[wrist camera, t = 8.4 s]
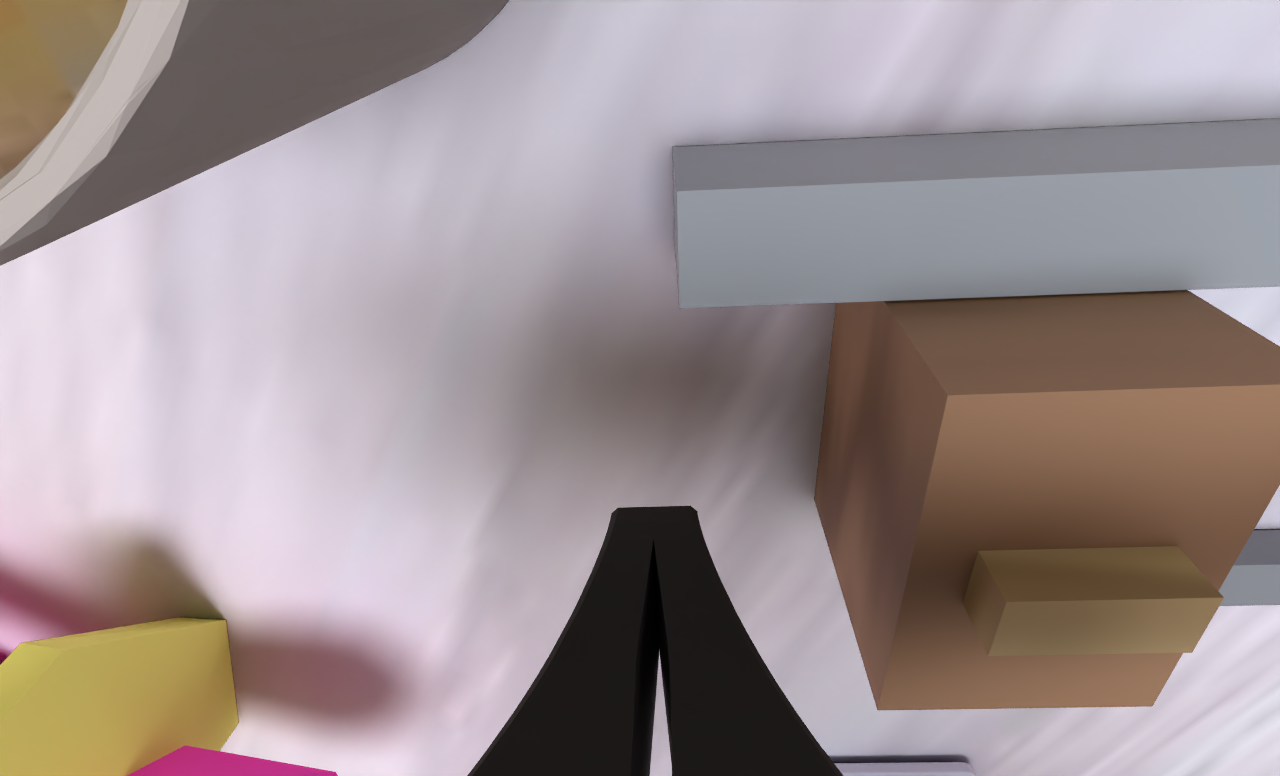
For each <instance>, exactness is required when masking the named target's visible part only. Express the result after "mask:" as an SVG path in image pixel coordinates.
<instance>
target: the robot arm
mask: <svg viewBox="0 0 1280 776" xmlns="http://www.w3.org/2000/svg"><path fill="white" fill-rule="evenodd" d="M659 650H660V659H661V669H662V678H663V687H664V697H665V706H666V715H667V724H668V734H669V743H670V752H671V761H672V776H976V774H975V771H974V768H973V767H972V766H971V765H970V764H968V763H964V762H921V763H833V761H832V760H831V759H830V758H829V756H828V755H827V754H826V753H825V751H824V750H823V749H822V747H821V746H820V745H819V743H818V742H817V741H816V739H815V738H814V737H813V735H812V734H811V732H810V731H809V729H808V728H807V727H806V725H805V724H804V722H803V721H802V720H801V718H800V717H799V715H798V714H797V713H796V711H795V710H794V708H793V707H792V705H791V704H790V702H789V701H788V699H787V698H786V696H785V695H784V693H783V692H782V690H781V689H780V687H779V685H778V684H777V682H776V681H775V679H774V678H773V676H772V674H771V673H770V671H769V670H768V668H767V666H766V665H765V663H764V661H763V660H762V658H761V656H760V655H759V653H758V651H757V649H756V647H755V646H754V644H753V642H752V640H751V639H750V637H749V635H748V633H747V632H746V630H745V628H744V626H743V624H742V622H741V620H740V619H739V617H738V615H737V613H736V611H735V609H734V607H733V605H732V603H731V601H730V598H729V596H728V594H727V592H726V590H725V588H724V586H723V584H722V582H721V580H720V578H719V575H718V573H717V571H716V568H715V566H714V563H713V561H712V559H711V556H710V554H709V551H708V548H707V546H706V543H705V540H704V537H703V534H702V531H701V527H700V523H699V519H698V514H697V511H696V510H695V509H694V508H692V507H691V506H667V507H629V508H617V509H616V510H615V511H614V512H613V513H612V515H611V519H610V523H609V527H608V530H607V533H606V536H605V539H604V542H603V545H602V548H601V550H600V553H599V555H598V558H597V560H596V563H595V565H594V568H593V570H592V573H591V575H590V577H589V579H588V581H587V583H586V585H585V588H584V590H583V592H582V594H581V596H580V598H579V601H578V603H577V605H576V607H575V609H574V611H573V613H572V615H571V617H570V619H569V621H568V622H567V624H566V626H565V628H564V630H563V632H562V633H561V635H560V637H559V639H558V641H557V643H556V644H555V646H554V648H553V650H552V652H551V654H550V655H549V657H548V659H547V660H546V662H545V664H544V666H543V667H542V669H541V671H540V672H539V674H538V675H537V677H536V679H535V680H534V682H533V684H532V685H531V687H530V688H529V690H528V691H527V693H526V694H525V696H524V697H523V699H522V701H521V702H520V704H519V705H518V707H517V708H516V710H515V711H514V713H513V714H512V716H511V717H510V718H509V720H508V721H507V723H506V724H505V725H504V727H503V728H502V730H501V731H500V732H499V734H498V735H497V737H496V738H495V739H494V741H493V742H492V744H491V745H490V746H489V748H488V749H487V751H486V752H485V753H484V755H483V756H482V757H481V759H480V760H479V761H478V763H477V764H476V765H475V767H474V768H473V769H472V770H471V772H470V773H469V774H468V776H649V774H650V761H651V749H652V736H653V723H654V711H655V698H656V685H657V672H658V659H659Z"/></svg>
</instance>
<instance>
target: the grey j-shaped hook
mask: <svg viewBox="0 0 1280 776" xmlns="http://www.w3.org/2000/svg"><path fill="white" fill-rule="evenodd" d="M672 148H673V192H674V236H675V257H676V270H677V284H678V298H679V309H681V308H708V307H735V306H762V305H790V304H817V303H844V302H871V301H898V300H925V299H952V298H979V297H1006V296H1033V295H1060V294H1087V293H1114V292H1141V291H1168V290H1195V289H1222V288H1249V287H1276V286H1280V119H1258V120H1237V121H1215V122H1194V123H1172V124H1151V125H1130V126H1108V127H1087V128H1065V129H1044V130H1022V131H1001V132H979V133H958V134H937V135H915V136H894V137H872V138H851V139H829V140H808V141H787V142H765V143H744V144H722V145H701V146H679V147H672ZM1219 593H1220V594H1221V595H1222V596H1223V597H1224V599H1223V600H1222V602H1221V604H1220V605H1219V606H1242V605H1280V530H1253V532H1252V534H1251V535H1250V537H1249V539H1248V541H1247V542H1246V544H1245V546H1244V548H1243V549H1242V551H1241V553H1240V555H1239V556H1238V558H1237V560H1236V562H1235V563H1234V565H1233V567H1232V568H1231V570H1230V572H1229V574H1228V575H1227V577H1226V579H1225V581H1224V582H1223V584H1222V586H1221V588H1220V589H1219Z"/></svg>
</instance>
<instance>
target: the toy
mask: <svg viewBox="0 0 1280 776" xmlns="http://www.w3.org/2000/svg"><path fill="white" fill-rule="evenodd" d="M238 723H239V721H238V713H237V705H236V697H235V689H234V681H233V673H232V665H231V657H230V649H229V640H228V632H227V624H226V620H216V619H197V618H172V619H166V620H160V621H154V622H147V623H141V624H135V625H129V626H123V627H117V628H110V629H104V630H98V631H92V632H86V633H80V634H73V635H67V636H61V637H55V638H49V639H43V640H36V641H30V642H24V643H20V644H19V645H18V646H17V647H16V648H15V650H14V651H13V652H12V653H11V654H10V655H9V656H8V657H7V658H6V659H5V660H4V662H3V663H2V664H1V665H0V776H338V775H337V774H336V772H332V771H327V770H321V769H316V768H310V767H304V766H299V765H293V764H287V763H282V762H276V761H271V760H265V759H259V758H254V757H248V756H243V755H237V754H231V753H226V752H220V750H221V748H222V747H223V745H224V744H225V742H226V741H227V739H228V738H229V736H230V735H231V734H232V732H233V731H234V729H235V728H236V726H237V725H238Z"/></svg>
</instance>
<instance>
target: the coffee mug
mask: <svg viewBox="0 0 1280 776" xmlns="http://www.w3.org/2000/svg"><path fill="white" fill-rule="evenodd" d="M508 1H509V0H0V265H3V264H5V263H7V262H9V261H11V260H14V259H16V258H18V257H20V256H23V255H25V254H27V253H29V252H31V251H34V250H36V249H38V248H40V247H42V246H44V245H47V244H49V243H51V242H53V241H55V240H57V239H59V238H62V237H64V236H66V235H68V234H70V233H72V232H75V231H77V230H79V229H81V228H83V227H85V226H87V225H90V224H92V223H94V222H96V221H98V220H100V219H103V218H105V217H107V216H109V215H111V214H113V213H115V212H118V211H120V210H122V209H124V208H126V207H128V206H131V205H133V204H135V203H137V202H139V201H141V200H143V199H146V198H148V197H150V196H152V195H154V194H156V193H159V192H161V191H163V190H165V189H167V188H169V187H172V186H174V185H176V184H178V183H180V182H182V181H184V180H187V179H189V178H191V177H193V176H195V175H197V174H200V173H202V172H204V171H206V170H208V169H210V168H212V167H215V166H217V165H219V164H221V163H223V162H225V161H228V160H230V159H232V158H234V157H236V156H238V155H240V154H243V153H245V152H247V151H249V150H251V149H253V148H256V147H258V146H260V145H262V144H264V143H266V142H268V141H271V140H273V139H275V138H277V137H279V136H281V135H284V134H286V133H288V132H290V131H292V130H294V129H296V128H299V127H301V126H303V125H305V124H307V123H309V122H312V121H314V120H316V119H318V118H320V117H322V116H324V115H327V114H329V113H331V112H333V111H335V110H337V109H340V108H342V107H344V106H346V105H348V104H350V103H352V102H355V101H357V100H359V99H361V98H363V97H365V96H368V95H370V94H372V93H374V92H376V91H378V90H380V89H383V88H385V87H387V86H389V85H391V84H393V83H396V82H398V81H400V80H402V79H404V78H406V77H409V76H411V75H413V74H415V73H417V72H419V71H421V70H424V69H426V68H428V67H430V66H431V65H433V64H435V63H437V62H439V61H441V60H442V59H444V58H446V57H448V56H449V55H450V54H452V53H453V52H455V51H456V50H458V49H459V48H461V47H462V46H463V45H465V44H466V43H468V42H469V41H470V40H471V39H472V38H473V37H475V36H476V35H477V34H478V33H479V32H480V31H481V30H482V29H483V28H484V27H485V26H486V25H487V24H488V23H489V22H490V21H491V20H492V19H493V18H494V17H495V16H496V15H497V14H498V13H499V12H500V11H501V10H502V9H503V7H504V6H505V5H506V3H507V2H508Z"/></svg>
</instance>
